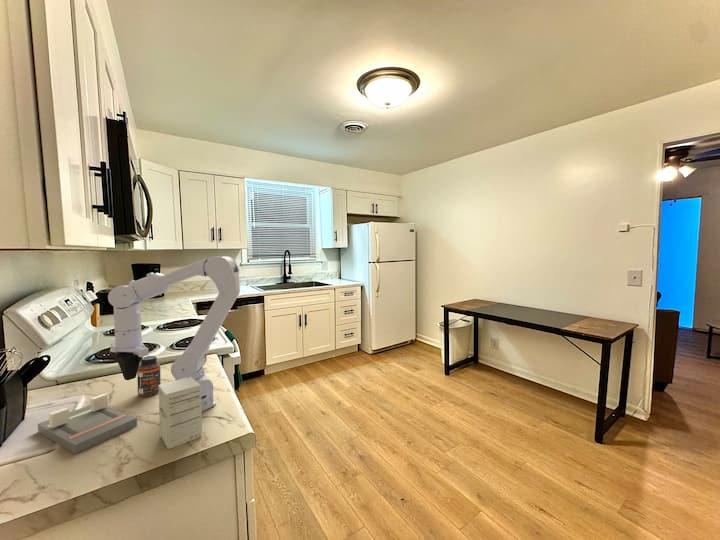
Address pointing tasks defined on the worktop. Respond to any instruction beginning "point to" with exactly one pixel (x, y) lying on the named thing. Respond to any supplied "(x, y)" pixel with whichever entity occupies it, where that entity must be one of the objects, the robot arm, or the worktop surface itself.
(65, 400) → the worktop surface
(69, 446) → the board
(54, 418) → the block
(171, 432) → the supplement box
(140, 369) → the supplement bottle
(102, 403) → the block
